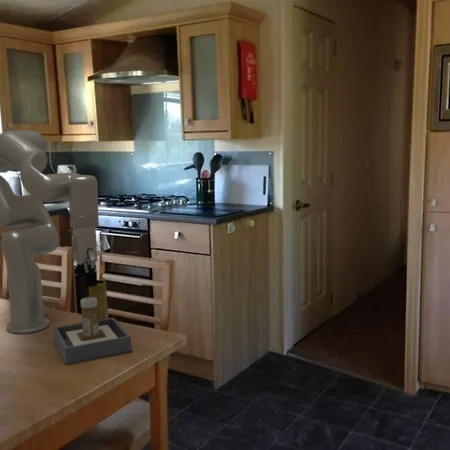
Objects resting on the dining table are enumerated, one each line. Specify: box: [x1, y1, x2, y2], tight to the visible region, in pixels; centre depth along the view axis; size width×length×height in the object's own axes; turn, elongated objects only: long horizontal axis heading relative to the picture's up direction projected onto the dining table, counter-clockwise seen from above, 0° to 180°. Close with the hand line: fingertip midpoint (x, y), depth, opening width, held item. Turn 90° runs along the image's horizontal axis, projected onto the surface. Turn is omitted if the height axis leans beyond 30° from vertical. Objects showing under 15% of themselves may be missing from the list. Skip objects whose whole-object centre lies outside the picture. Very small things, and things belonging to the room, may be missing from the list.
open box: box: [53, 317, 132, 366], centre depth 153 cm, size 18×18×4 cm
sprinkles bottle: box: [80, 296, 99, 341], centre depth 152 cm, size 5×5×13 cm
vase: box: [88, 279, 109, 320], centre depth 169 cm, size 6×6×14 cm
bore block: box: [66, 325, 118, 347], centre depth 153 cm, size 12×12×3 cm
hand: (87, 281), depth 150 cm, fingers open, 9 cm apart
